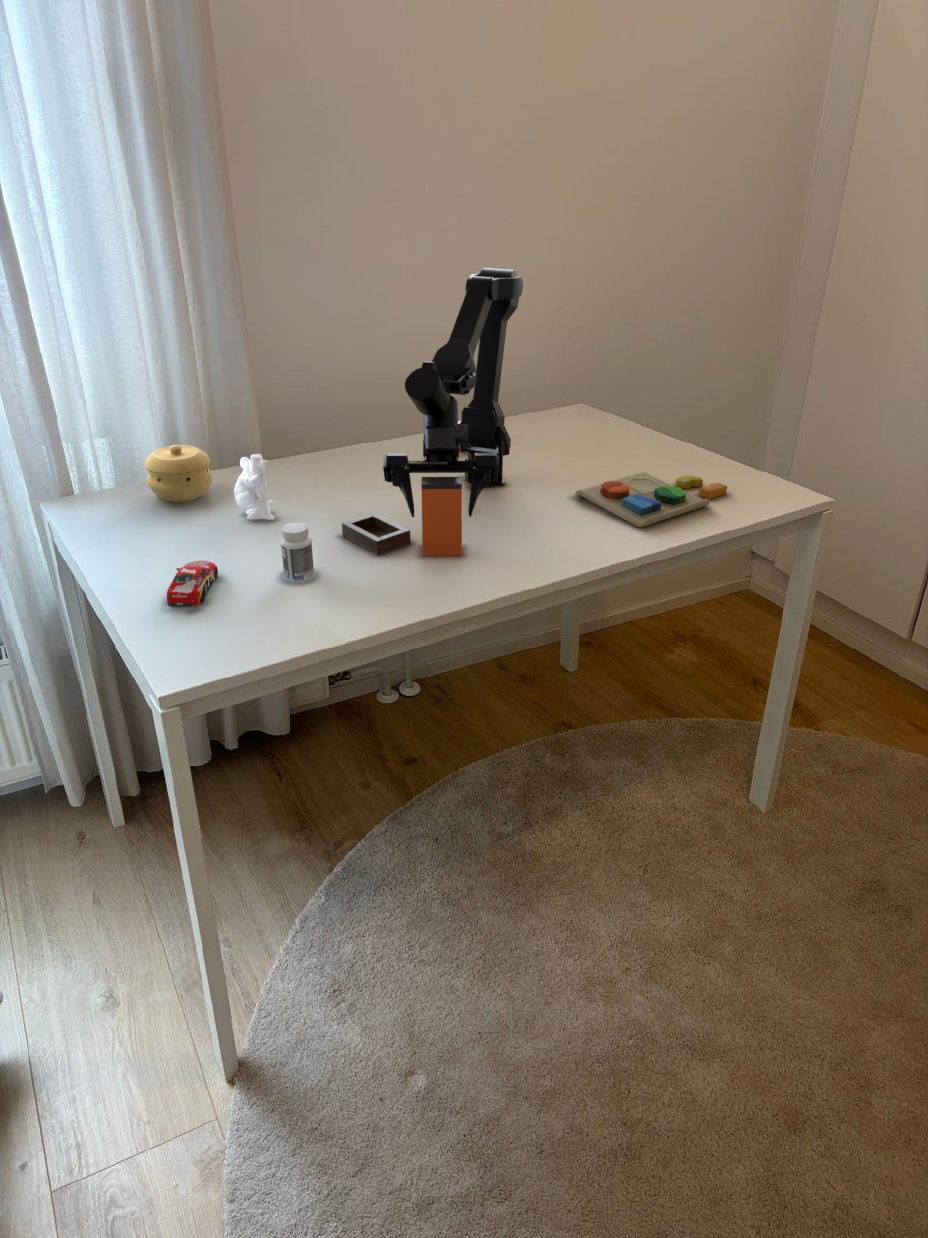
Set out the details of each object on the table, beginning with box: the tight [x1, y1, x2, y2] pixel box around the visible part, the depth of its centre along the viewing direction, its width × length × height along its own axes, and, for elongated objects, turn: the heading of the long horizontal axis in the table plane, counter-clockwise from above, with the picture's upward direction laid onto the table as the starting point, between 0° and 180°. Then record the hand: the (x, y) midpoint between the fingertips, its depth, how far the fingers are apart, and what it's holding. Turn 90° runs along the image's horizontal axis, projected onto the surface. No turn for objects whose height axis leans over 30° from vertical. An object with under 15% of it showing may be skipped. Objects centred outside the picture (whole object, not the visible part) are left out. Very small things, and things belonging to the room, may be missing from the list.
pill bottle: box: [280, 522, 315, 583], centre depth 149 cm, size 5×5×8 cm
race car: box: [166, 560, 219, 608], centre depth 145 cm, size 13×5×4 cm, turn 177°
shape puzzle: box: [574, 471, 728, 528], centre depth 179 cm, size 25×19×3 cm
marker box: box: [420, 476, 463, 557], centre depth 156 cm, size 3×6×12 cm, turn 92°
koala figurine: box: [233, 453, 275, 521], centre depth 169 cm, size 8×7×12 cm
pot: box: [144, 444, 213, 503], centre depth 177 cm, size 12×12×10 cm
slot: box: [341, 512, 412, 556], centre depth 162 cm, size 7×10×2 cm
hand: (441, 516), depth 154 cm, fingers open, 9 cm apart
